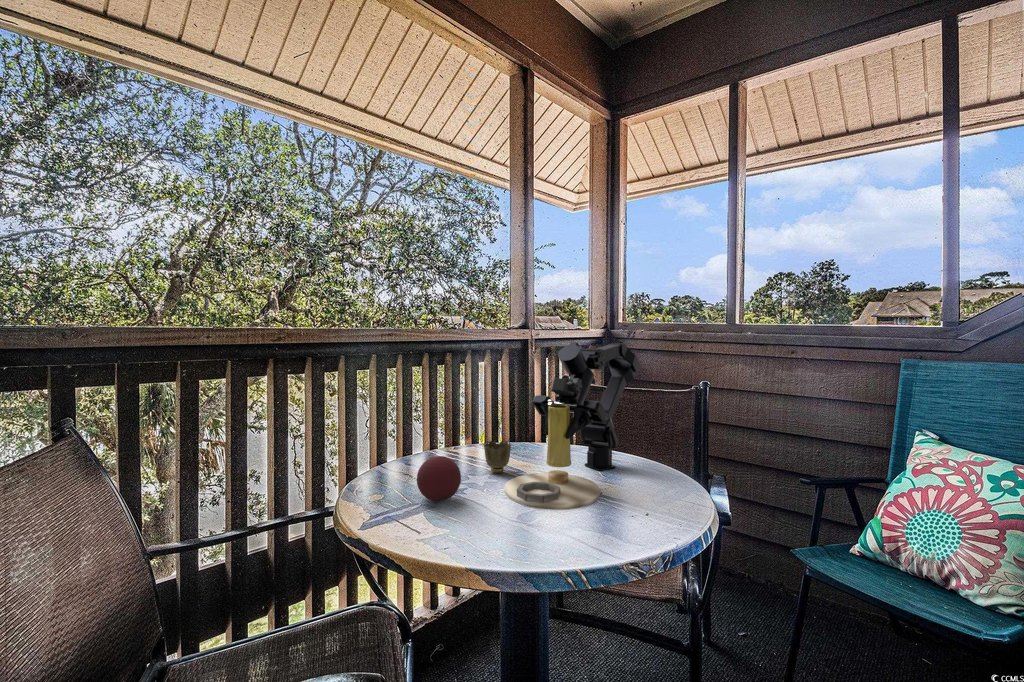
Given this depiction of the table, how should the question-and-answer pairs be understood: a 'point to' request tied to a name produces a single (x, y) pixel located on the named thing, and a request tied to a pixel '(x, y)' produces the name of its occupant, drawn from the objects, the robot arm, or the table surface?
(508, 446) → the cup
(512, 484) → the disc
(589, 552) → the table surface
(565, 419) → the vase
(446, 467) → the decorative ball
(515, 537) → the table surface
